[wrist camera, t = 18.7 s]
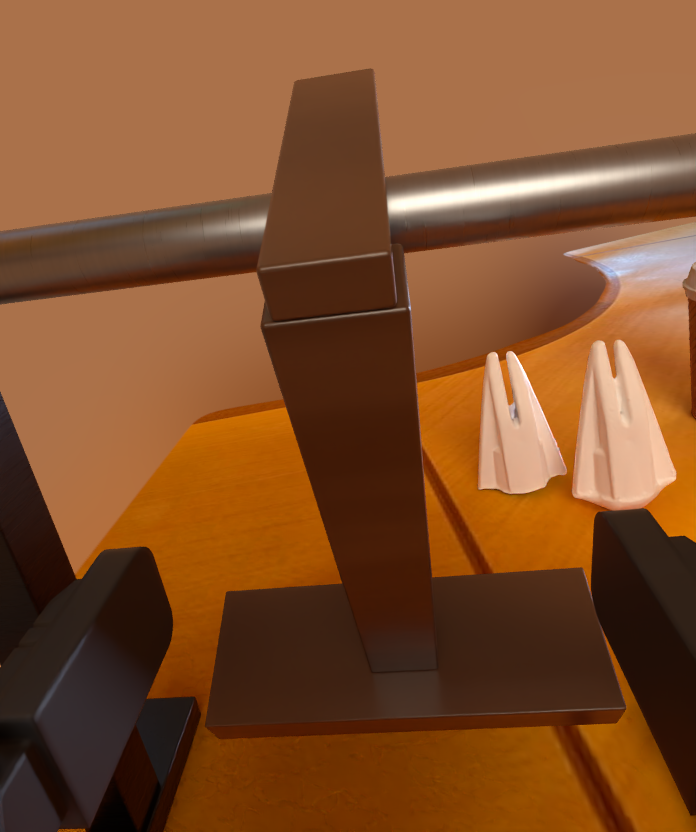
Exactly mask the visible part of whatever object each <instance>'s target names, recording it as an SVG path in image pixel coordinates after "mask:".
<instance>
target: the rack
mask: <svg viewBox="0 0 696 832" xmlns="http://www.w3.org/2000/svg"><path fill="white" fill-rule="evenodd" d="M385 184H386V194H387V204H388V214H389V224H390V234H391V244H401V245H402V247H403V250H404V253H409V252H418V251H425V250H434V249H442V248H449V247H458V246H465V245H473V244H481V243H489V242H497V241H505V240H512V239H521V238H529V237H537V236H544V235H552V234H560V233H568V232H576V231H584V230H592V229H600V228H607V227H615V226H624V225H631V224H639V223H647V222H655V221H663V220H671V219H679V218H687V217H695V216H696V133H695V134H688V135H681V136H674V137H667V138H660V139H652V140H645V141H638V142H631V143H624V144H617V145H609V146H602V147H596V148H589V149H582V150H574V151H567V152H560V153H554V154H546V155H538V156H531V157H524V158H517V159H511V160H503V161H496V162H489V163H482V164H475V165H467V166H460V167H453V168H446V169H439V170H432V171H425V172H418V173H411V174H404V175H397V176H389V177H385ZM271 195H272V193H269V194H262V195H255V196H247V197H240V198H233V199H226V200H219V201H212V202H205V203H198V204H191V205H183V206H177V207H169V208H163V209H155V210H148V211H141V212H134V213H127V214H120V215H113V216H105V217H98V218H92V219H84V220H77V221H70V222H63V223H56V224H49V225H42V226H35V227H27V228H20V229H13V230H6V231H0V304H7V303H15V302H23V301H31V300H38V299H46V298H55V297H62V296H70V295H78V294H86V293H94V292H102V291H109V290H118V289H125V288H134V287H140V286H149V285H157V284H164V283H173V282H181V281H189V280H196V279H204V278H213V277H220V276H228V275H236V274H244V273H252V272H256V270H257V264H258V260H259V255H260V250H261V245H262V240H263V235H264V230H265V225H266V220H267V215H268V210H269V205H270V200H271ZM75 580H76V577H75V574H74V572H73V569H72V567H71V564H70V562H69V560H68V557H67V555H66V552H65V550H64V548H63V545H62V543H61V540H60V538H59V535H58V533H57V530H56V528H55V525H54V523H53V520H52V518H51V515H50V513H49V510H48V508H47V505H46V503H45V501H44V498H43V496H42V493H41V491H40V488H39V486H38V483H37V481H36V479H35V476H34V474H33V471H32V469H31V466H30V464H29V461H28V459H27V456H26V454H25V452H24V449H23V447H22V444H21V442H20V439H19V437H18V434H17V432H16V429H15V427H14V424H13V422H12V419H11V417H10V415H9V412H8V410H7V407H6V405H5V402H4V400H3V397H2V395H1V392H0V665H1V666H2V664H3V663H4V662H5V660H6V659H7V658H8V656H9V655H10V654H11V652H12V651H13V650H14V648H18V647H19V642H20V640H21V639H22V638H23V636H24V635H25V634H26V632H27V631H28V630H29V628H33V626H34V625H33V623H34V622H35V620H36V619H37V618H38V616H39V615H40V614H41V612H42V611H43V610H44V608H45V607H46V606H47V604H48V603H49V602H50V600H52V599H53V598H54V597H55V596H56V595H58V594H59V593H60V592H61V591H63V590H64V589H65V588H66V587H68V586H69V585H70V584H71V583H73V582H74V581H75ZM200 715H201V713H200V710H199V707H198V704H197V701H196V698H195V697H175V698H154V699H146V700H145V703H144V705H143V707H142V709H141V712H140V714H139V716H138V719H137V721H136V723H135V725H134V727H133V730H132V732H131V734H130V737H129V739H128V741H127V743H126V746H125V748H124V750H123V753H122V755H121V757H120V759H119V762H118V764H117V766H116V769H115V771H114V773H113V776H112V778H111V780H110V782H109V785H108V787H107V789H106V792H105V794H104V796H103V798H102V801H101V803H100V805H99V808H98V810H97V812H96V815H95V817H94V819H93V821H92V824H91V826H90V828H85V830H86V832H163V829H164V826H165V823H166V819H167V816H168V813H169V810H170V807H171V804H172V801H173V798H174V795H175V792H176V789H177V786H178V783H179V780H180V777H181V774H182V770H183V767H184V764H185V761H186V758H187V755H188V752H189V749H190V746H191V743H192V740H193V737H194V734H195V731H196V728H197V725H198V721H199V718H200Z"/></svg>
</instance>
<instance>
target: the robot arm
mask: <svg viewBox="0 0 696 832" xmlns="http://www.w3.org/2000/svg"><path fill="white" fill-rule="evenodd" d="M591 591H592V598H593V604H594V608H595V611H596V615H597V617H598V620H599V622H600V624H601V627H602V629H603V631H604V633H605V635H606V637H607V639H608V641H609V644H610V646H611V648H612V650H613V652H614V654H615V656H616V658H617V660H618V663H619V665H620V667H621V669H622V671H623V673H624V675H625V677H626V680H627V682H628V684H629V686H630V688H631V690H632V692H633V694H634V696H635V699H636V701H637V703H638V705H639V707H640V709H641V711H642V713H643V716H644V718H645V720H646V722H647V724H648V726H649V728H650V730H651V732H652V735H653V737H654V739H655V741H656V743H657V745H658V747H659V749H660V751H661V754H662V756H663V758H664V760H665V762H666V764H667V766H668V768H669V771H670V773H671V775H672V777H673V779H674V781H675V783H676V785H677V787H678V790H679V792H680V794H681V796H682V798H683V800H684V802H685V804H686V807H687V809H688V811H689V813H690V815H696V543H695V542H693V541H692V540H690V539H689V538H687V537H686V536H675V537H668V536H667V534H666V533H665V532H664V530H663V529H662V528H661V526H660V525H659V524H658V523H657V521H656V520H655V519H654V517H653V516H652V515H651V513H650V512H649V511H648V510H646V509H644V508H641V509H628V510H615V511H603V512H598V513H597V514H596V516H595V519H594V532H593V553H592V573H591ZM33 625H34V626H33V628H29V630H28V631H27V632H26V634H25V635H24V636H23V638H22V639H21V640H20V642H19V647H18V648H14V650H13V651H12V652H11V654H10V655H9V656H8V658H7V659H6V660H5V662H4V663H3V664H2V666H1V667H0V832H57V831H58V829H83V828H90V826H91V824H92V821H93V819H94V817H95V815H96V812H97V810H98V808H99V805H100V803H101V801H102V798H103V796H104V794H105V792H106V789H107V787H108V785H109V782H110V780H111V778H112V776H113V773H114V771H115V769H116V766H117V764H118V762H119V759H120V757H121V755H122V753H123V750H124V748H125V746H126V743H127V741H128V739H129V737H130V734H131V732H132V730H133V727H134V725H135V723H136V721H137V718H138V716H139V714H140V711H141V709H142V707H143V704H144V702H145V700H146V698H147V695H148V693H149V691H150V688H151V686H152V684H153V682H154V679H155V677H156V675H157V672H158V670H159V668H160V665H161V663H162V661H163V659H164V656H165V654H166V652H167V649H168V647H169V644H170V641H171V637H172V631H173V617H172V611H171V607H170V604H169V601H168V598H167V595H166V592H165V589H164V586H163V583H162V580H161V577H160V574H159V571H158V568H157V565H156V562H155V559H154V556H153V554H152V552H151V551H150V549H149V548H147V547H133V548H120V549H108V550H104V551H103V552H101V553H100V554H99V556H98V557H97V558H96V560H95V561H94V563H93V564H92V565H91V567H90V568H89V570H88V571H87V572H86V574H85V575H84V577H83V578H82V579H76V580H75V581H74V582H73V583H71V584H70V585H69V586H68V587H66V588H65V589H64V590H63V591H61V592H60V593H59V594H58V595H56V596H55V597H54V598H53V599H52V600H50V602H49V603H48V604H47V606H46V607H45V608H44V610H43V611H42V612H41V614H40V615H39V616H38V618H37V619H36V620H35V622H34V623H33Z"/></svg>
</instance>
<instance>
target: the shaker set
mask: <svg viewBox="0 0 696 832" xmlns="http://www.w3.org/2000/svg"><path fill="white" fill-rule="evenodd" d="M506 358H507V364H508V370H509V375H510V383H511V387H512V393H513V399H514V402H513V403H512V404H511V405H510V406H509V405H508V401H507V396H506V391H505V386H504V382H503V377H502V372H501V368H500V363H499V359H498V356H497V354H496V353H495V352H491V353H489V354H488V355H487V359H486V365H485V373H484V381H483V391H482V406H481V422H480V440H479V464H478V485H477V486H478V489H479V490H481V489H484V488H486V489H487V488H489V489H495V488H496V489H497V490H498V489H500V490H502V491H503V492H505V493H509V494H512V493H526V492H531V491H535V490H538V489H540V487H541V488H543V487H545V486H546V482H548V480H549V479H551V477H554V476H556V475H565V474H566V473H567V470H566V469H567V468H566V466H565V464H564V461H563V459H562V456H561V454H560V448H558V447H557V443H556V441H555V440H556V439H555V438H554V437H553V435H552V432H551V430H550V428H549V426H548V423H547V420H546V418H545V416H544V414H543V410H542V408H541V406H540V404H539V402H538V400H537V398H536V396H535V394H534V392H533V389H532V387H531V384H530V382H529V380H528V378H527V376H526V374H525V372H524V370H523V368H522V366H521V364H520V362H519V360H518V359H517V357H516V355H515V354H514V353H513V352H511V351H508V352H507V355H506ZM614 358H615V370H616V378H613V377H612V372H611V367H610V363H609V358H608V354H607V350H606V346H605V343H604V342H603V341H600V340H598V341H596V342H594V343H593V344H592V346H591V349H590V353H589V357H588V364H587V369H586V374H585V381H584V388H583V396H582V403H581V411H580V418H579V427H578V435H577V445H576V454H575V464H574V474H573V485H572V494H573V496H574V497H575V498H578V499H582V500H586V501H589V502H591V503H594V504H597V505H599V506H601V507H604V508H606V509H609V510H612V511H615V510H628V509H640V508H642V507H644V506H646V505H647V504H648V503H650V502H651V501H652V500H653V499H654V498H655V497H656V496H657V495H658V494H659V493H660V491H661V490H662V489H663V488H664V487H665V486H667V485H668V484H670V483H672V482H673V481H675V480H676V471H675V469H674V466H673V464H672V461H671V459H670V456H669V452H668V449H667V447H666V444H665V442H664V439H663V436H662V433H661V430H660V428H659V425H658V422H657V419H656V417H655V414H654V411H653V409H652V406H651V404H650V401H649V398H648V396H647V393H646V390H645V388H644V385H643V383H642V380H641V377H640V374H639V372H638V370H637V367H636V364H635V361H634V359H633V357H632V355H631V353H630V351H629V349H628V348H627V346H626V344H625V343H624V342H623V341H622V340H616V341H615V342H614Z"/></svg>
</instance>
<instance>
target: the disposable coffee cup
mask: <svg viewBox="0 0 696 832" xmlns="http://www.w3.org/2000/svg"><path fill="white" fill-rule="evenodd" d="M682 283H683V288H684V289H685V294H686V296H687V297H688V302H689V305H688V309H689V332H690V337H689V340H690V368H691V396H692V415H693V416H694V417H695V418H696V262H695V263H694V264H693V265H692V267H691V270H690V272H689V275H688V278H686V279H685V280H684V281H683V282H682Z"/></svg>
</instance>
